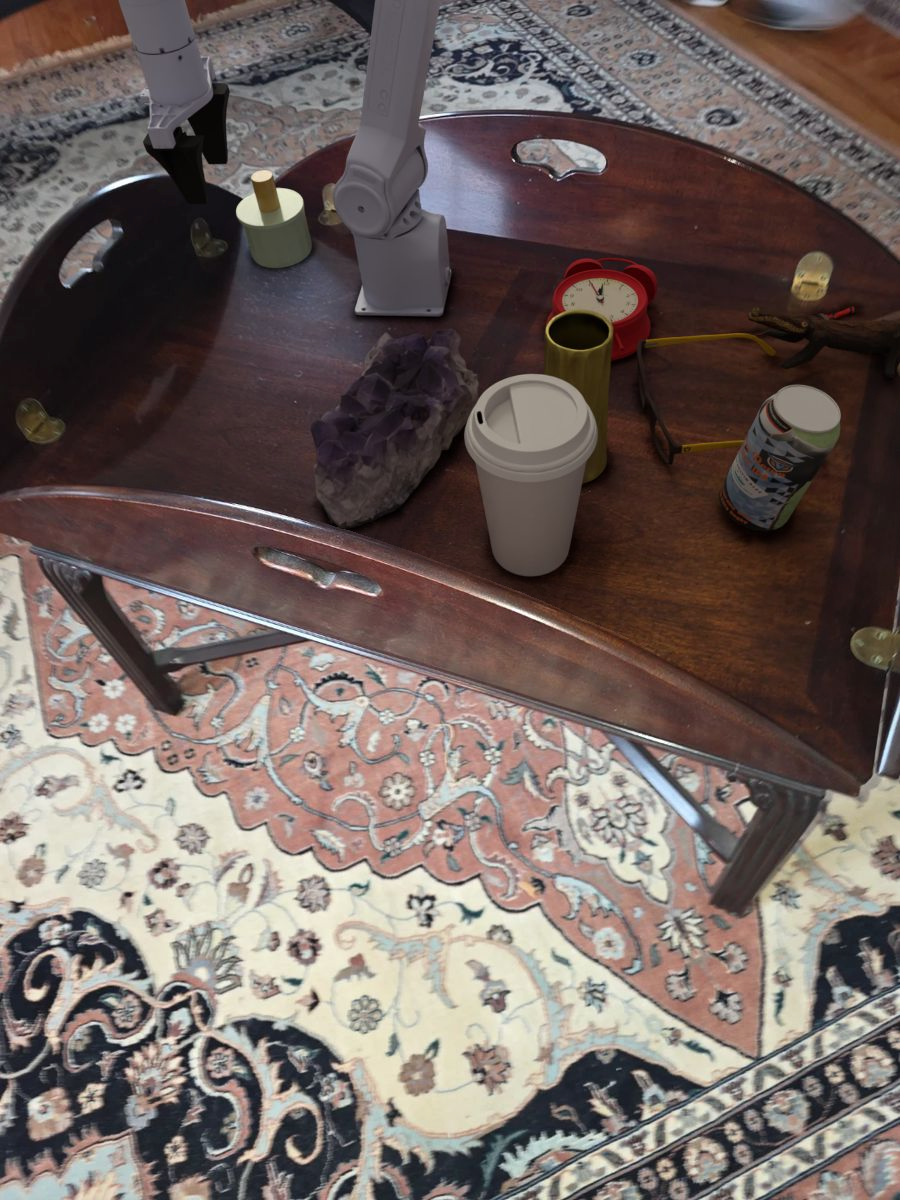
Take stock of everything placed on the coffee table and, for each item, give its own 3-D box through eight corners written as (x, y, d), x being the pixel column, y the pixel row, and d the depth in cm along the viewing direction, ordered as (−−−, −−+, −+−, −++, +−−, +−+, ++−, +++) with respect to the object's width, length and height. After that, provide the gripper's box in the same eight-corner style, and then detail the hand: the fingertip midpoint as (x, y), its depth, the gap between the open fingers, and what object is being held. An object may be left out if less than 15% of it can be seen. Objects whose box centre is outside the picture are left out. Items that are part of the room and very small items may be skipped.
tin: (317, 233, 103) (309, 193, 99) (304, 268, 99) (294, 228, 95) (260, 232, 104) (249, 193, 100) (245, 268, 100) (233, 228, 96)
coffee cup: (490, 494, 77) (483, 358, 65) (598, 513, 75) (611, 375, 63) (459, 579, 72) (445, 448, 60) (574, 602, 70) (583, 471, 58)
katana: (863, 313, 87) (861, 319, 87) (855, 303, 88) (853, 308, 88) (741, 341, 86) (740, 347, 87) (734, 331, 87) (733, 336, 88)
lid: (312, 196, 100) (303, 157, 96) (297, 235, 96) (287, 195, 92) (248, 197, 101) (237, 157, 97) (230, 235, 97) (218, 195, 93)
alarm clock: (531, 333, 84) (569, 216, 89) (534, 373, 90) (570, 261, 95) (639, 348, 81) (672, 227, 86) (636, 389, 87) (667, 273, 92)
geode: (409, 553, 74) (376, 470, 66) (299, 526, 79) (256, 446, 71) (504, 393, 84) (485, 304, 76) (400, 378, 88) (372, 292, 80)
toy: (741, 370, 80) (768, 327, 76) (731, 318, 84) (756, 274, 80) (965, 414, 83) (1002, 375, 79) (945, 361, 87) (979, 321, 83)
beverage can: (707, 489, 76) (734, 380, 66) (792, 479, 76) (831, 369, 66) (727, 545, 72) (757, 438, 62) (816, 535, 72) (861, 427, 62)
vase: (602, 489, 77) (615, 358, 65) (533, 482, 78) (533, 352, 66) (609, 440, 80) (623, 307, 68) (543, 434, 81) (544, 302, 69)
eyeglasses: (625, 372, 85) (629, 338, 82) (774, 355, 85) (783, 320, 81) (658, 479, 76) (664, 447, 73) (823, 460, 76) (837, 426, 73)
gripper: (149, 8, 86) (192, 146, 97) (96, 78, 78) (150, 220, 89) (217, 6, 85) (253, 146, 96) (171, 77, 77) (216, 220, 88)
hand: (208, 182), depth 93 cm, fingers open, 7 cm apart
